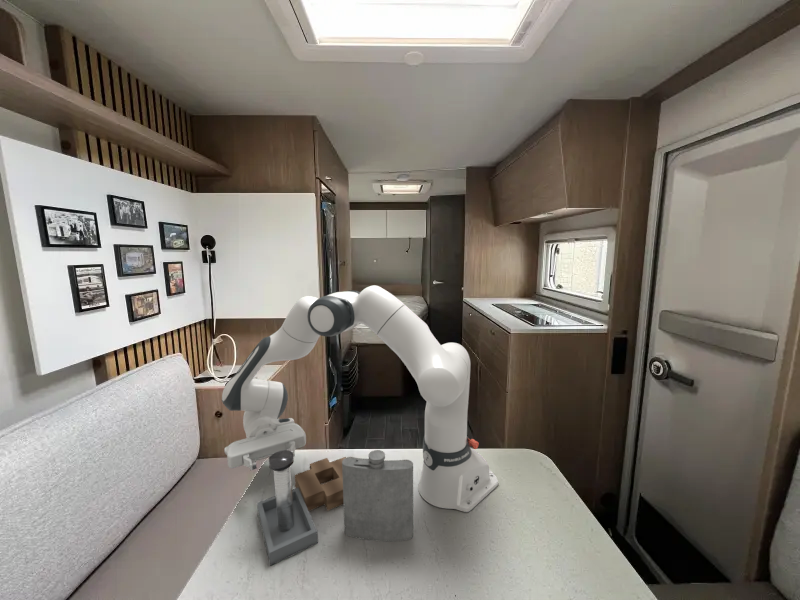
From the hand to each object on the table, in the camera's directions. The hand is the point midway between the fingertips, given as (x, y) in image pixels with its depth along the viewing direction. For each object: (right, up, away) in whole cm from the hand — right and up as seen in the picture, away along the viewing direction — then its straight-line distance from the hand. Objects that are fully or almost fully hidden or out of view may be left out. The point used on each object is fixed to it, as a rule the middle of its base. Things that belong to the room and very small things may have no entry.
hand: (273, 460), depth 84 cm
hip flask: (+28, -12, -10) cm, 32 cm away
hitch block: (+13, -10, +5) cm, 17 cm away
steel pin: (+6, -11, -8) cm, 15 cm away
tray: (+6, -12, -8) cm, 15 cm away
